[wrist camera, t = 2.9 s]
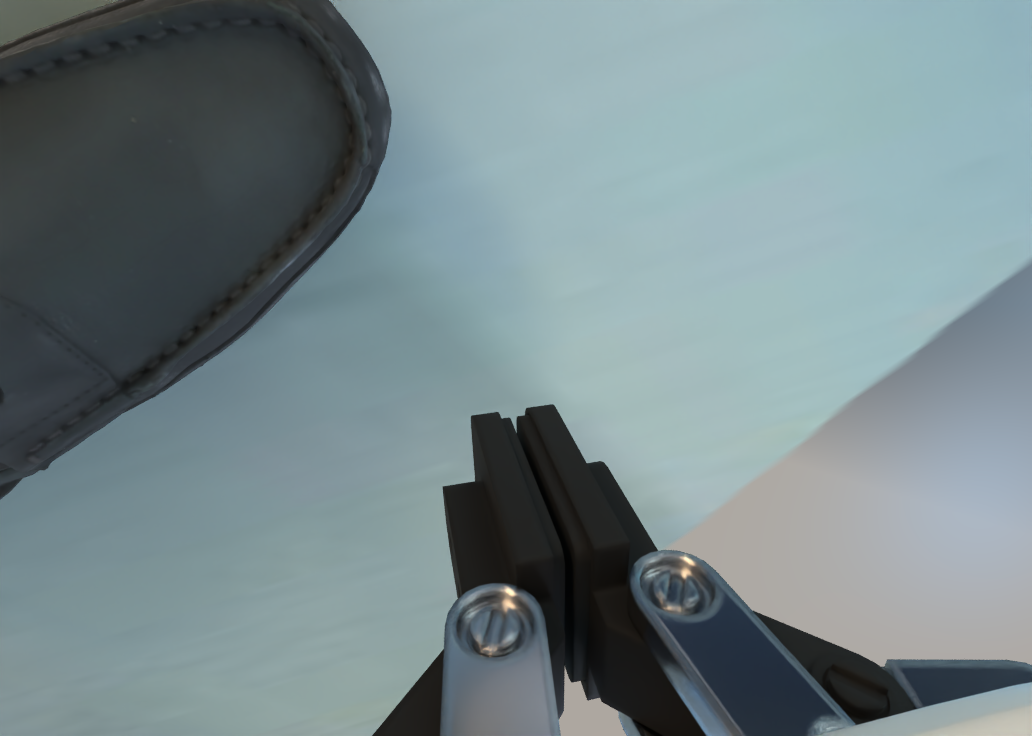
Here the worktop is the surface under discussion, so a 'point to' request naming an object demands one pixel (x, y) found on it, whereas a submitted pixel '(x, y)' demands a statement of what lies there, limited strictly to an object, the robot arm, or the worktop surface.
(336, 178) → the loafer
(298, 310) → the worktop surface
